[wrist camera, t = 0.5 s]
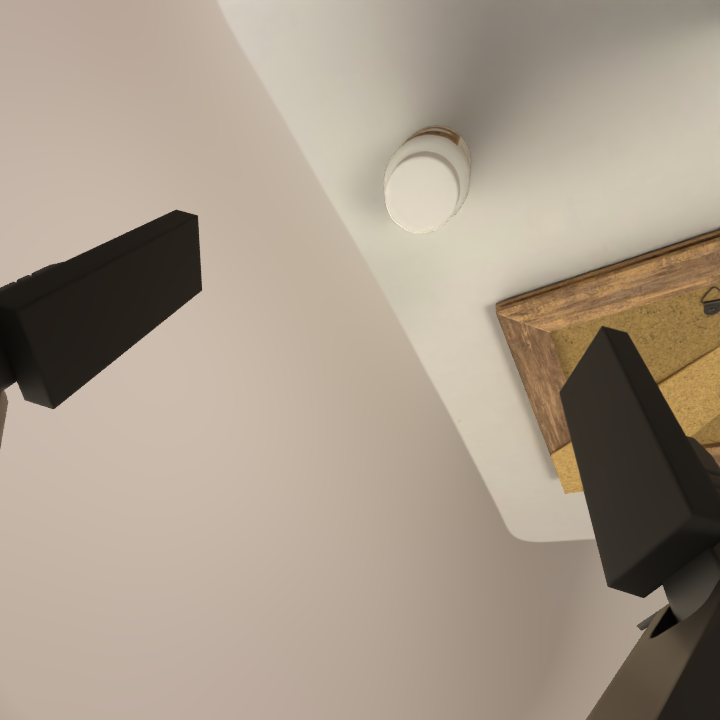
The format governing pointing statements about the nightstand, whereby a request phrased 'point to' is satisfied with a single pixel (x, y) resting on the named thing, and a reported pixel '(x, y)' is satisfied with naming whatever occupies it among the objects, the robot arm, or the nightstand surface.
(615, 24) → the nightstand surface
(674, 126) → the nightstand surface
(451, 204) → the pill bottle
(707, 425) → the picture frame
